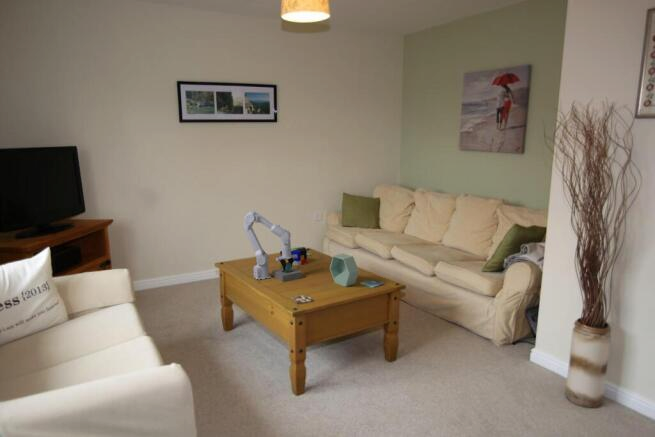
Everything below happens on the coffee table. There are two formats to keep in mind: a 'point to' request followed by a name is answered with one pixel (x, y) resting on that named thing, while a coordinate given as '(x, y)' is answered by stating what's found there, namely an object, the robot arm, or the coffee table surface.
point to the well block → (287, 274)
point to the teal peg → (288, 268)
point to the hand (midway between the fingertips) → (287, 269)
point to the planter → (344, 269)
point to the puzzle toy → (299, 256)
